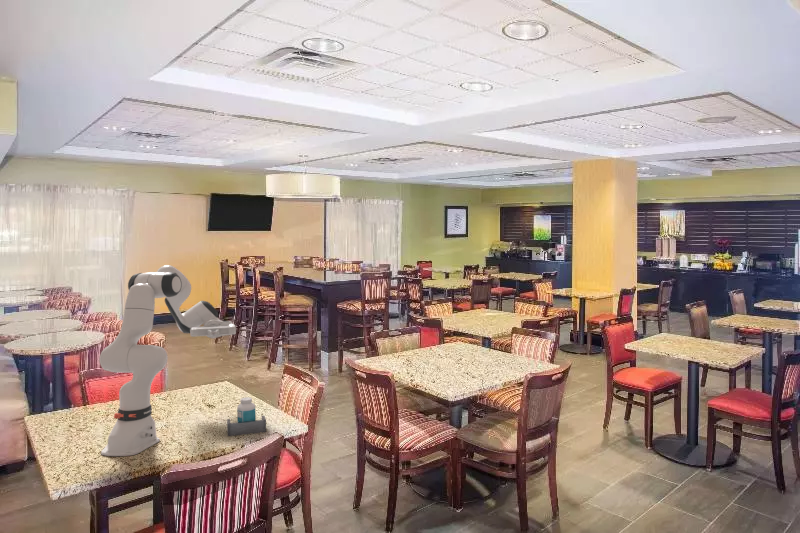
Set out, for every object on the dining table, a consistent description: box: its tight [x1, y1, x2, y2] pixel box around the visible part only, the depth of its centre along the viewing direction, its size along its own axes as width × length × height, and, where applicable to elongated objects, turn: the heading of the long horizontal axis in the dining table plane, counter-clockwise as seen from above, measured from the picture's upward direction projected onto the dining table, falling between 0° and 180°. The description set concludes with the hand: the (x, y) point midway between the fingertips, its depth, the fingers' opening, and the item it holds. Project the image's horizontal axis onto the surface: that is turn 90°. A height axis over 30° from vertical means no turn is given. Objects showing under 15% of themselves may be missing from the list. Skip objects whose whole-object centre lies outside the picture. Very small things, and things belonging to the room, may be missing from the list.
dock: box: [226, 415, 267, 437], centre depth 235 cm, size 7×15×5 cm, turn 109°
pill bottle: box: [236, 396, 257, 422], centre depth 237 cm, size 8×7×14 cm
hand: (213, 333), depth 255 cm, fingers closed
